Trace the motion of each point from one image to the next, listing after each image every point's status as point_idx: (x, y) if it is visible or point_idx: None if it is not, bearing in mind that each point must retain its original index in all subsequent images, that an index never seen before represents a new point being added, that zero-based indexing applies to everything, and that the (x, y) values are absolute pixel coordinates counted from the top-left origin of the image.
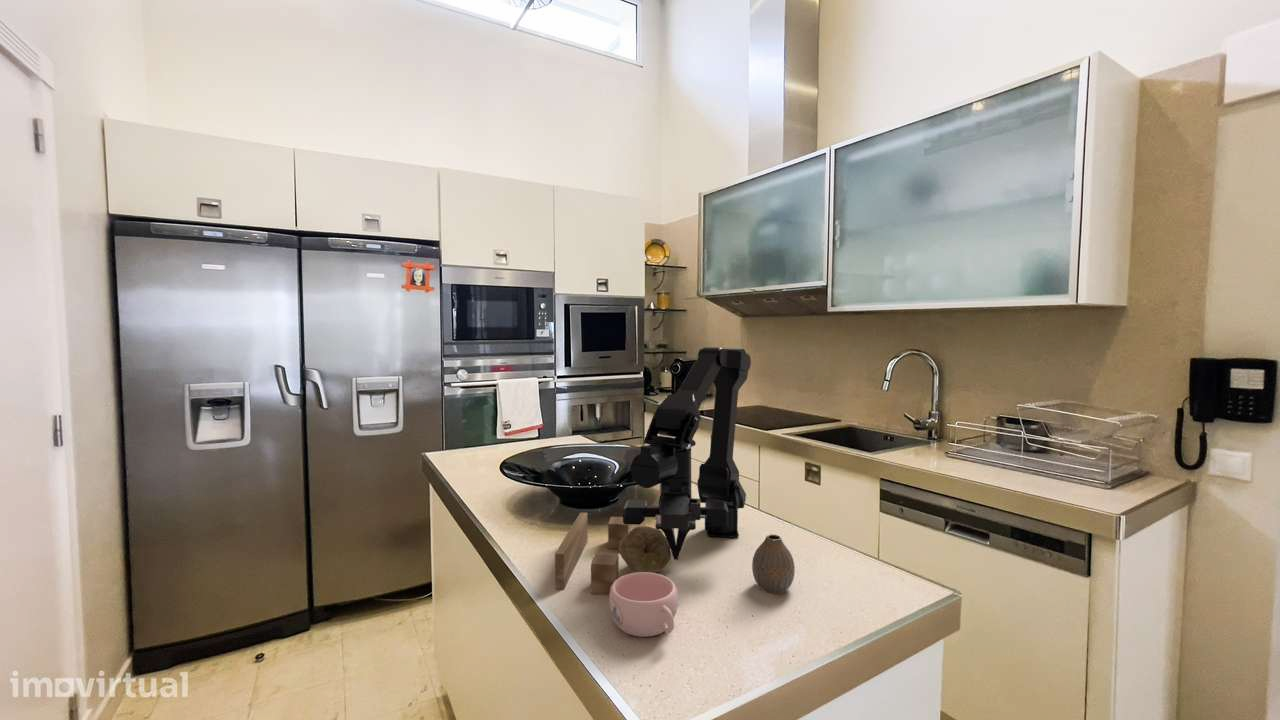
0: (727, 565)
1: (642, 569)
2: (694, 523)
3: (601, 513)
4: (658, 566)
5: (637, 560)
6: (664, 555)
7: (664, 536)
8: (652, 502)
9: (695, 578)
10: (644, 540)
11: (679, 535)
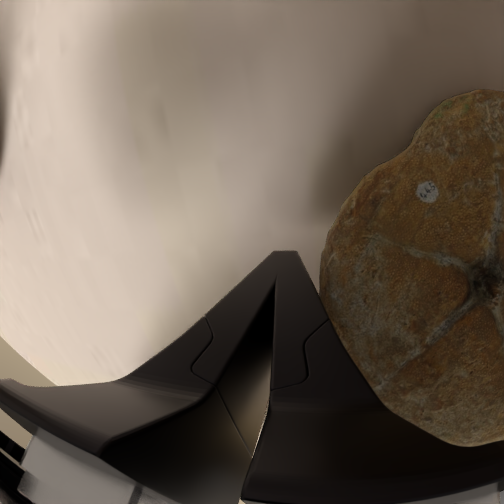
0: (98, 272)
1: (488, 121)
2: (28, 444)
3: None
4: (394, 176)
5: None
6: (360, 265)
7: None
8: None
9: (172, 136)
10: (501, 346)
11: (202, 379)
